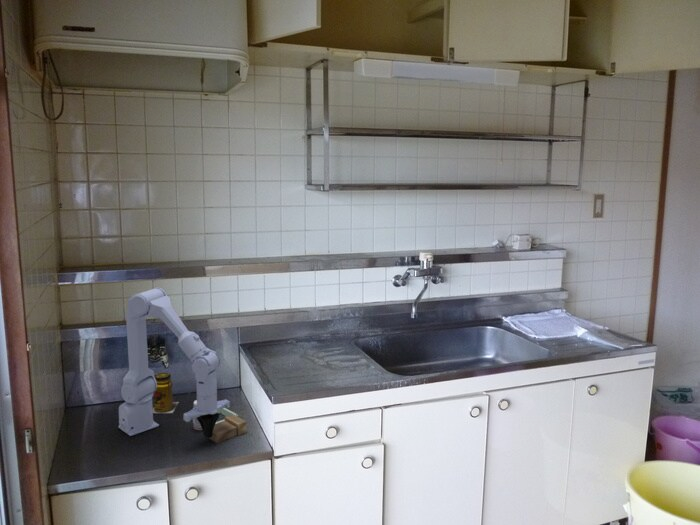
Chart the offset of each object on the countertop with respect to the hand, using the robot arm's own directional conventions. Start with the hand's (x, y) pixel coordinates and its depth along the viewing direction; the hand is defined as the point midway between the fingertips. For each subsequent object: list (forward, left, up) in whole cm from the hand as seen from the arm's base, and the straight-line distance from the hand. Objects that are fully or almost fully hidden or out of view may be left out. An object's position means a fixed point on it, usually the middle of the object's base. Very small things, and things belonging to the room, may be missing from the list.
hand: (207, 436), depth 175 cm
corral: (+9, +9, -1) cm, 13 cm away
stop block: (+10, 0, -1) cm, 10 cm away
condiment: (+2, +29, -2) cm, 29 cm away
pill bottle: (+3, +9, -2) cm, 10 cm away
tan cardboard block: (+5, 0, -2) cm, 5 cm away
